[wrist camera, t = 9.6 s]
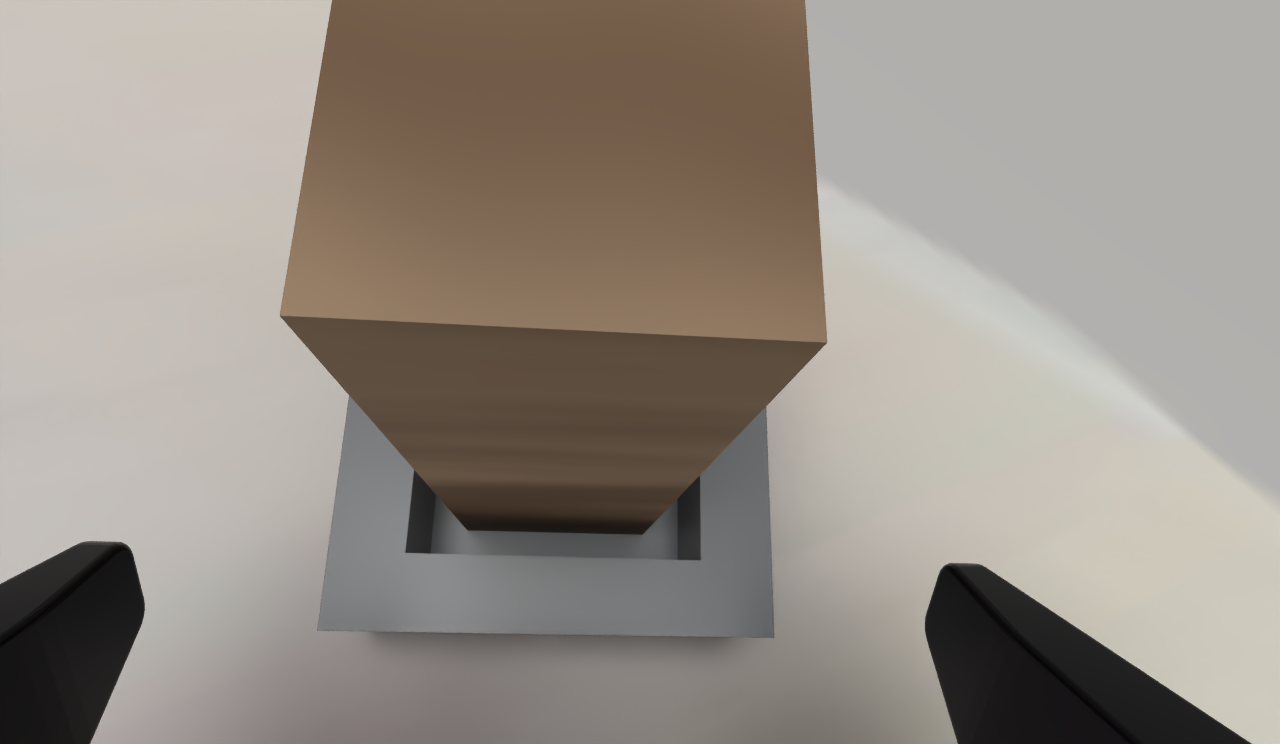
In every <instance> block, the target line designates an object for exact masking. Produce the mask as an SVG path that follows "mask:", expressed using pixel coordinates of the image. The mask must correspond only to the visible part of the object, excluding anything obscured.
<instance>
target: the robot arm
mask: <svg viewBox="0 0 1280 744" xmlns="http://www.w3.org/2000/svg"><path fill="white" fill-rule="evenodd" d="M144 611H145V603H144V597H143V593H142V589H141V585H140V581H139V577H138V573H137V569H136V565H135V561H134V557H133V553H132V551H131V549H130V548H129V546H128V545H126V544H124V543H122V542H103V541H87V542H82V543H79V544H77V545H75V546H73V547H71V548H69V549H67V550H65V551H63V552H61V553H59V554H57V555H56V556H54V557H52V558H50V559H48V560H46V561H44V562H42V563H40V564H38V565H36V566H34V567H32V568H30V569H28V570H26V571H25V572H23V573H21V574H19V575H17V576H15V577H13V578H11V579H9V580H7V581H5V582H3V583H1V584H0V744H90V743H91V740H92V738H93V736H94V734H95V731H96V729H97V727H98V724H99V722H100V720H101V717H102V715H103V713H104V711H105V708H106V706H107V704H108V701H109V699H110V697H111V694H112V692H113V690H114V687H115V685H116V683H117V680H118V678H119V676H120V673H121V671H122V669H123V666H124V664H125V662H126V660H127V657H128V655H129V653H130V650H131V648H132V646H133V643H134V641H135V639H136V636H137V634H138V632H139V629H140V627H141V624H142V621H143V617H144ZM925 633H926V638H927V642H928V645H929V648H930V652H931V655H932V658H933V662H934V665H935V669H936V672H937V675H938V679H939V682H940V685H941V689H942V692H943V696H944V699H945V702H946V706H947V709H948V712H949V716H950V719H951V722H952V726H953V729H954V733H955V736H956V739H957V742H958V744H1251V743H1250V742H1248V741H1247V740H1245V739H1244V738H1242V737H1241V736H1239V735H1238V734H1236V733H1235V732H1233V731H1232V730H1230V729H1229V728H1227V727H1226V726H1224V725H1223V724H1221V723H1220V722H1218V721H1217V720H1215V719H1214V718H1212V717H1211V716H1209V715H1208V714H1206V713H1205V712H1203V711H1202V710H1200V709H1199V708H1197V707H1196V706H1194V705H1193V704H1191V703H1190V702H1188V701H1187V700H1185V699H1184V698H1182V697H1180V696H1179V695H1177V694H1176V693H1174V692H1173V691H1171V690H1170V689H1168V688H1167V687H1165V686H1164V685H1162V684H1161V683H1159V682H1158V681H1156V680H1155V679H1153V678H1152V677H1150V676H1149V675H1147V674H1146V673H1144V672H1143V671H1141V670H1140V669H1138V668H1137V667H1135V666H1134V665H1132V664H1131V663H1129V662H1128V661H1126V660H1125V659H1123V658H1122V657H1120V656H1119V655H1117V654H1116V653H1114V652H1113V651H1111V650H1110V649H1108V648H1107V647H1105V646H1104V645H1102V644H1101V643H1099V642H1098V641H1096V640H1095V639H1093V638H1092V637H1090V636H1088V635H1087V634H1085V633H1084V632H1082V631H1081V630H1079V629H1078V628H1076V627H1075V626H1073V625H1072V624H1070V623H1069V622H1067V621H1066V620H1064V619H1063V618H1061V617H1060V616H1058V615H1057V614H1055V613H1054V612H1052V611H1051V610H1049V609H1048V608H1046V607H1045V606H1043V605H1042V604H1040V603H1039V602H1037V601H1036V600H1034V599H1033V598H1031V597H1030V596H1028V595H1027V594H1025V593H1024V592H1022V591H1021V590H1019V589H1018V588H1016V587H1015V586H1013V585H1012V584H1010V583H1009V582H1007V581H1006V580H1004V579H1003V578H1001V577H1000V576H998V575H996V574H995V573H993V572H992V571H990V570H989V569H987V568H986V567H984V566H982V565H980V564H972V563H949V564H946V565H945V566H943V568H942V569H941V571H940V573H939V575H938V578H937V582H936V585H935V588H934V591H933V594H932V597H931V600H930V604H929V607H928V610H927V613H926V617H925Z"/></svg>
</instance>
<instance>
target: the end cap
mask: <svg viewBox="0 0 1280 744" xmlns="http://www.w3.org/2000/svg"><path fill="white" fill-rule="evenodd" d="M317 631H375V632H438V633H501V634H563V635H626V636H689V637H752V638H774V617H773V588H772V560H771V531H770V503H769V475H768V446H767V418H766V407H765V408H764V409H763V410H762V411H761V412H760V413H759V414H758V415H757V416H756V417H755V418H754V419H753V420H752V421H751V422H750V424H749V425H748V426H747V427H746V428H745V429H744V430H743V431H742V432H741V433H740V434H739V435H738V436H737V437H736V438H735V439H734V440H733V441H732V442H731V443H730V444H729V445H728V446H727V447H726V448H725V450H724V451H723V452H722V453H721V454H720V455H719V456H718V457H717V458H716V459H715V460H714V461H713V462H712V463H711V464H710V465H709V466H708V467H707V468H706V469H705V470H704V471H703V472H702V473H701V475H700V476H699V477H698V478H697V479H696V480H695V481H694V482H693V483H692V484H691V485H690V486H689V487H688V488H687V489H686V490H685V491H684V492H683V493H682V494H681V495H680V496H679V497H678V498H677V500H676V501H675V502H674V503H673V504H672V505H671V506H670V507H669V508H668V509H667V510H666V511H665V512H664V513H663V514H662V515H661V516H660V517H659V518H658V519H657V520H656V521H655V522H654V523H653V525H652V526H651V527H650V528H649V529H648V530H647V531H646V532H645V533H644V534H643V535H629V534H589V533H549V532H508V531H468V530H467V529H466V528H465V527H464V526H463V525H462V524H461V523H460V521H459V520H458V519H457V518H456V517H455V516H454V515H453V513H452V512H451V511H450V510H449V509H448V508H447V507H446V505H445V504H444V503H443V502H442V501H441V500H440V499H439V497H438V496H437V495H436V494H435V493H434V492H433V490H432V489H431V488H430V487H429V486H428V485H427V484H426V482H425V481H424V480H423V479H422V478H421V477H420V476H419V474H418V473H417V472H416V471H415V470H414V469H413V468H412V466H411V465H410V464H409V463H408V462H407V461H406V460H405V458H404V457H403V456H402V455H401V454H400V453H399V452H398V450H397V449H396V448H395V447H394V446H393V445H392V444H391V442H390V441H389V440H388V439H387V438H386V437H385V436H384V434H383V433H382V432H381V431H380V430H379V429H378V428H377V426H376V425H375V424H374V423H373V422H372V421H371V420H370V418H369V417H368V416H367V415H366V414H365V413H364V411H363V410H362V409H361V408H360V407H359V406H358V405H357V403H356V402H355V401H354V400H353V399H352V398H351V397H350V395H349V400H348V407H347V415H346V422H345V429H344V437H343V444H342V452H341V459H340V466H339V474H338V481H337V488H336V496H335V503H334V510H333V518H332V525H331V532H330V540H329V547H328V554H327V562H326V569H325V576H324V584H323V591H322V599H321V606H320V613H319V621H318V628H317Z"/></svg>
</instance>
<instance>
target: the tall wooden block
mask: <svg viewBox="0 0 1280 744" xmlns="http://www.w3.org/2000/svg"><path fill="white" fill-rule="evenodd" d="M280 316H281V318H282V319H283V320H284V321H285V322H286V323H287V324H288V326H289V327H290V328H291V329H292V330H293V331H294V332H295V334H296V335H297V336H298V337H299V338H300V339H301V341H302V342H303V343H304V344H305V345H306V346H307V347H308V349H309V350H310V351H311V352H312V353H313V354H314V355H315V357H316V358H317V359H318V360H319V361H320V362H321V363H322V365H323V366H324V367H325V368H326V369H327V370H328V371H329V373H330V374H331V375H332V376H333V377H334V378H335V379H336V381H337V382H338V383H339V384H340V385H341V386H342V387H343V389H344V390H345V391H346V392H347V393H348V394H349V395H350V397H351V398H352V399H353V400H354V401H355V402H356V403H357V405H358V406H359V407H360V408H361V409H362V410H363V411H364V413H365V414H366V415H367V416H368V417H369V418H370V420H371V421H372V422H373V423H374V424H375V425H376V426H377V428H378V429H379V430H380V431H381V432H382V433H383V434H384V436H385V437H386V438H387V439H388V440H389V441H390V442H391V444H392V445H393V446H394V447H395V448H396V449H397V450H398V452H399V453H400V454H401V455H402V456H403V457H404V458H405V460H406V461H407V462H408V463H409V464H410V465H411V466H412V468H413V469H414V470H415V471H416V472H417V473H418V474H419V476H420V477H421V478H422V479H423V480H424V481H425V482H426V484H427V485H428V486H429V487H430V488H431V489H432V490H433V492H434V493H435V494H436V495H437V496H438V497H439V499H440V500H441V501H442V502H443V503H444V504H445V505H446V507H447V508H448V509H449V510H450V511H451V512H452V513H453V515H454V516H455V517H456V518H457V519H458V520H459V521H460V523H461V524H462V525H463V526H464V527H465V528H466V529H467V530H468V531H508V532H549V533H589V534H629V535H643V534H644V533H645V532H646V531H647V530H648V529H649V528H650V527H651V526H652V525H653V523H654V522H655V521H656V520H657V519H658V518H659V517H660V516H661V515H662V514H663V513H664V512H665V511H666V510H667V509H668V508H669V507H670V506H671V505H672V504H673V503H674V502H675V501H676V500H677V498H678V497H679V496H680V495H681V494H682V493H683V492H684V491H685V490H686V489H687V488H688V487H689V486H690V485H691V484H692V483H693V482H694V481H695V480H696V479H697V478H698V477H699V476H700V475H701V473H702V472H703V471H704V470H705V469H706V468H707V467H708V466H709V465H710V464H711V463H712V462H713V461H714V460H715V459H716V458H717V457H718V456H719V455H720V454H721V453H722V452H723V451H724V450H725V448H726V447H727V446H728V445H729V444H730V443H731V442H732V441H733V440H734V439H735V438H736V437H737V436H738V435H739V434H740V433H741V432H742V431H743V430H744V429H745V428H746V427H747V426H748V425H749V424H750V422H751V421H752V420H753V419H754V418H755V417H756V416H757V415H758V414H759V413H760V412H761V411H762V410H763V409H764V408H765V407H766V406H767V405H768V404H769V403H770V402H771V401H772V400H773V399H774V397H775V396H776V395H777V394H778V393H779V392H780V391H781V390H782V389H783V388H784V387H785V386H786V385H787V384H788V383H789V382H790V381H791V380H792V379H793V378H794V377H795V376H796V375H797V374H798V372H799V371H800V370H801V369H802V368H803V367H804V366H805V365H806V364H807V363H808V362H809V361H810V360H811V359H812V358H813V357H814V356H815V355H816V354H817V353H818V352H819V351H820V350H821V349H822V347H823V346H824V345H825V344H826V343H827V332H826V317H825V302H824V286H823V271H822V256H821V240H820V225H819V209H818V194H817V179H816V164H815V148H814V133H813V117H812V102H811V87H810V72H809V56H808V40H807V25H806V9H805V0H332V5H331V11H330V17H329V23H328V29H327V35H326V41H325V47H324V53H323V59H322V65H321V71H320V77H319V83H318V89H317V95H316V101H315V107H314V113H313V119H312V125H311V131H310V137H309V143H308V149H307V155H306V161H305V167H304V173H303V179H302V185H301V191H300V197H299V203H298V209H297V215H296V221H295V227H294V233H293V239H292V245H291V251H290V257H289V263H288V269H287V275H286V281H285V287H284V293H283V299H282V305H281V311H280Z"/></svg>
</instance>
